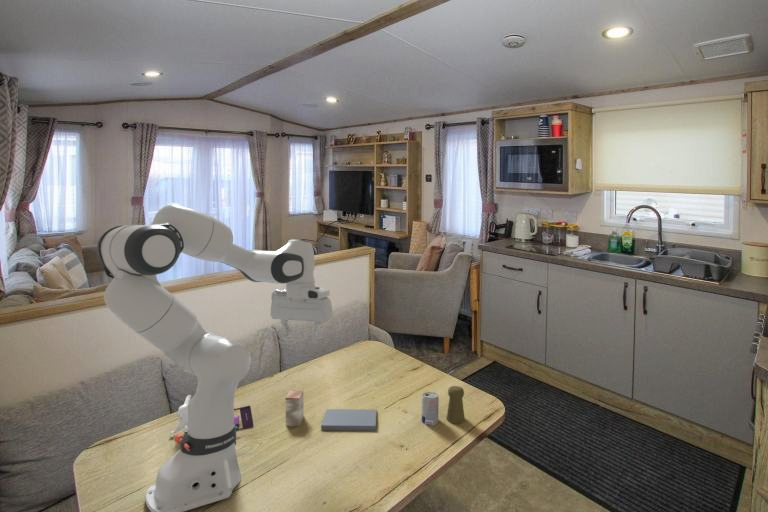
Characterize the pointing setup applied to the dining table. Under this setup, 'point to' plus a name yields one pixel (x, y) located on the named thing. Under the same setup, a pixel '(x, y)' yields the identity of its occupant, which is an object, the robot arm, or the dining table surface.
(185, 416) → the rabbit figurine
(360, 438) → the dining table surface
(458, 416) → the brown pawn shape
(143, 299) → the robot arm
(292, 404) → the block
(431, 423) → the energy drink
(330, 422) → the slate board
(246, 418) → the purple box
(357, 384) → the dining table surface
